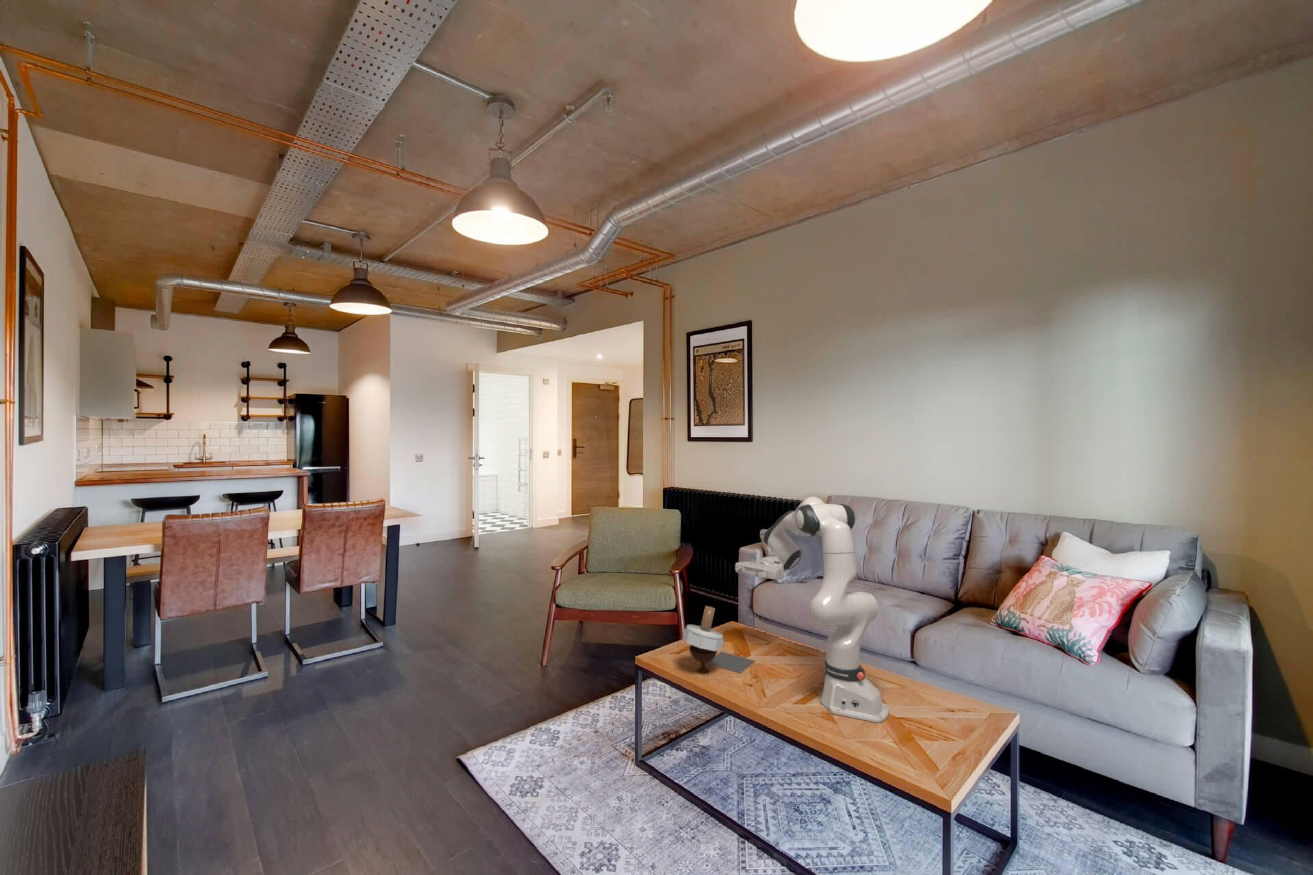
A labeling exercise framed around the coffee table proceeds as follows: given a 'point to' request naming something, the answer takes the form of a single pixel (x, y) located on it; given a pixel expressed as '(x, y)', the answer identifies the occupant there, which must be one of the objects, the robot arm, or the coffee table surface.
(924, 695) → the coffee table surface
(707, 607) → the hexagonal peg stand
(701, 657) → the ice cream bowl
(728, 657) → the mat
